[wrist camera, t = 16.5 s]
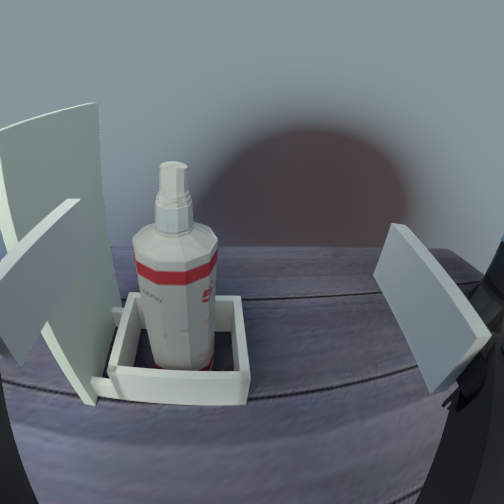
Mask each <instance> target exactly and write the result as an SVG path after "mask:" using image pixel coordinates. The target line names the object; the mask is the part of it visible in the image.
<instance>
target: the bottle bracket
mask: <svg viewBox="0 0 504 504" xmlns="http://www.w3.org/2000/svg"><path fill="white" fill-rule="evenodd" d="M99 140H100V139H99V102H94V103H87V104H83V105H78V106H74V107H70V108H66V109H62V110H58V111H55V112H51V113H47V114H44V115H40V116H37V117H34V118H31V119H28V120H25V121H22V122H19V123H16V124H13V125H10V126H8V127H5V128H3V129H0V228H1V232H2V235H3V239H4V242H5V245H6V248H7V252H8V253H9V252H10V251H11V250H12V249H13V248H14V247H15V246H16V245H17V244H18V243H19V242H20V241H21V240H22V239H23V238H24V237H25V236H26V235H27V234H28V233H29V232H30V231H31V230H32V229H33V228H34V227H35V226H36V225H38V224H39V223H40V222H41V221H42V220H43V219H44V218H45V217H46V216H48V215H49V214H50V213H51V212H52V211H53V210H55V209H56V208H57V207H58V206H59V205H60V204H62V203H63V202H64V201H65V200H67V199H82V206H83V213H84V219H85V224H86V230H87V235H88V240H89V245H90V250H91V255H90V257H89V258H88V260H87V261H86V262H85V264H84V265H83V267H82V268H81V269H80V271H79V272H78V274H77V275H76V277H75V278H74V280H73V281H72V282H71V284H70V285H69V287H68V288H67V290H66V292H65V293H64V295H63V296H62V298H61V299H60V301H59V302H58V304H57V306H56V307H55V309H54V310H53V312H52V314H51V315H50V317H49V319H48V320H47V322H46V324H45V325H44V327H43V329H42V330H41V333H42V335H43V337H44V339H45V341H46V343H47V344H48V346H49V348H50V350H51V352H52V353H53V355H54V357H55V359H56V360H57V362H58V364H59V365H60V367H61V369H62V370H63V372H64V374H65V375H66V377H67V378H68V380H69V381H70V383H71V385H72V386H73V388H74V389H75V391H76V392H77V393H78V395H79V396H80V398H81V399H82V401H83V402H84V403H85V404H88V405H93V406H96V402H97V397H98V396H102V397H109V398H116V399H123V400H132V401H141V402H151V403H164V404H181V405H246V401H247V396H248V391H249V386H250V381H251V375H250V368H249V360H248V352H247V344H246V336H245V328H244V320H243V312H242V303H241V296H217V295H216V296H215V329H214V332H231V340H232V352H233V364H234V371H183V370H164V369H149V368H137V367H134V362H135V357H136V352H137V347H138V342H139V337H140V332H141V328H142V329H147V327H146V322H145V317H144V312H143V306H142V301H141V295H140V293H137V292H129V295H128V298H127V301H126V304H125V307H124V308H122V303H121V298H120V294H119V289H118V285H117V280H116V275H115V270H114V265H113V260H112V254H111V248H110V242H109V236H108V229H107V222H106V214H105V206H104V197H103V187H102V176H101V161H100V141H99ZM116 326H117V327H118V331H117V334H116V338H115V341H114V345H113V349H112V353H111V356H110V360H109V364H108V368H107V374H108V376H109V378H110V379H108V378H102V376H103V372H104V368H105V364H106V360H107V356H108V352H109V349H110V345H111V341H112V338H113V334H114V331H115V328H116Z"/></svg>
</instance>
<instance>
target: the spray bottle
mask: <svg viewBox="0 0 504 504" xmlns="http://www.w3.org/2000/svg"><path fill="white" fill-rule="evenodd" d="M159 167H160V169H159V170H160V190H159V191H158V195H157V196H156V201H155V223H153V224H150V225H147V226H144V227H143V228H142V229H141V230H140V231H139V232H138V233H137V234H136V235H135V236H134V237H133V238H132V240H133V248H134V256H135V263H136V270H137V277H138V283H139V289H140V295H141V301H142V306H143V312H144V317H145V322H146V327H147V332H148V336H149V341H150V345H151V350H152V354H153V358H154V362H155V365H156V369H164V370H183V371H211V369H212V366H213V363H214V329H215V296H216V271H217V249H218V239H217V237H216V236H215V234H214V233H213V231H212V230H211V229H210V227H208V226H205V225H202V224H200V223H197V222H194V221H193V209H192V201H191V196H190V194H189V191H188V189H187V180H188V167H187V166H186V165H185V164H183V163H181V162H174V161H169V162H163V163H162V164H161V165H160V166H159Z"/></svg>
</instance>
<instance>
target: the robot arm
mask: <svg viewBox="0 0 504 504" xmlns="http://www.w3.org/2000/svg"><path fill="white" fill-rule="evenodd" d="M90 255H91V250H90V245H89V240H88V235H87V230H86V224H85V219H84V213H83V206H82V199H67V200H65V201H64V202H63V203H62V204H60V205H59V206H58V207H57V208H56V209H55V210H53V211H52V212H51V213H50V214H49V215H48V216H46V217H45V218H44V219H43V220H42V221H41V222H40V223H39V224H38V225H36V226H35V227H34V228H33V229H32V230H31V231H30V232H29V233H28V234H27V235H26V236H25V237H24V238H23V239H22V240H21V241H20V242H19V243H18V244H17V245H16V246H15V247H14V248H13V249H12V250H11V251H10V252H9V253H8V254H7V255H6V256H5V257H4V258H3V259H2V260H1V261H0V353H1V355H2V356H3V358H4V359H5V361H6V362H8V363H10V364H13V365H15V366H18V367H20V368H22V366H23V364H24V362H25V360H26V358H27V356H28V354H29V352H30V350H31V348H32V347H33V345H34V343H35V341H36V339H37V338H38V336H39V334H40V332H41V330H42V329H43V327H44V325H45V324H46V322H47V320H48V319H49V317H50V315H51V314H52V312H53V310H54V309H55V307H56V306H57V304H58V302H59V301H60V299H61V298H62V296H63V295H64V293H65V292H66V290H67V288H68V287H69V285H70V284H71V282H72V281H73V280H74V278H75V277H76V275H77V274H78V272H79V271H80V269H81V268H82V267H83V265H84V264H85V262H86V261H87V260H88V258H89V257H90ZM373 276H374V278H375V280H376V282H377V283H378V285H379V287H380V289H381V291H382V293H383V295H384V296H385V298H386V300H387V302H388V304H389V306H390V308H391V310H392V312H393V314H394V316H395V318H396V320H397V322H398V324H399V326H400V328H401V330H402V332H403V334H404V336H405V338H406V340H407V342H408V345H409V347H410V349H411V351H412V353H413V355H414V358H415V360H416V362H417V364H418V367H419V369H420V371H421V373H422V376H423V378H424V381H425V383H426V385H427V388H428V390H429V393H430V395H432V394H436V393H440V392H444V391H446V390H447V389H448V388H449V387H450V386H451V385H452V384H453V383H454V382H455V381H457V383H458V385H459V387H458V388H457V389H456V390H455V391H454V392H453V393H452V394H451V395H450V396H449V397H448V398H447V399H446V400H445V401H444V402H443V404H442V407H444V406H445V405H447V404H448V403H449V402H450V401H452V402H451V405H450V406H449V407H448V408H447V409H448V410H449V414H448V417H447V421H446V424H445V428H444V431H443V434H442V437H441V441H440V444H439V447H438V449H437V452H436V455H435V458H434V461H433V463H432V466H431V468H430V471H429V473H428V476H427V478H426V481H425V483H424V485H423V487H422V490H421V492H420V494H419V496H418V498H417V500H416V503H415V504H504V235H503V236H502V237H501V243H500V245H499V247H498V249H497V251H496V253H495V255H494V258H493V260H492V262H491V264H490V266H489V268H488V270H487V272H486V274H485V275H484V277H483V279H482V280H481V281H480V282H479V283H478V284H477V285H476V286H475V287H474V288H473V289H471V290H470V291H469V292H468V293H467V294H466V295H465V294H464V293H463V292H462V291H461V290H460V289H459V288H458V286H457V285H456V284H455V282H454V281H453V280H452V279H451V277H450V276H449V275H448V274H447V272H446V271H445V270H444V269H443V267H442V266H441V265H440V264H439V263H438V261H437V260H436V259H435V258H434V257H433V255H432V254H431V253H430V252H429V251H428V249H427V248H426V247H425V246H424V245H423V244H422V243H421V242H420V240H419V239H418V238H417V237H416V236H415V235H414V234H413V233H412V232H411V230H410V229H409V228H408V227H407V226H406V225H402V224H394V223H392V224H391V227H390V230H389V233H388V236H387V239H386V242H385V244H384V247H383V250H382V253H381V255H380V258H379V261H378V263H377V266H376V269H375V271H374V274H373ZM0 504H39V503H38V501H37V499H36V497H35V494H34V492H33V490H32V487H31V485H30V483H29V480H28V478H27V475H26V472H25V470H24V467H23V464H22V461H21V459H20V456H19V453H18V449H17V446H16V443H15V440H14V436H13V432H12V429H11V425H10V421H9V417H8V412H7V408H6V403H5V398H4V393H3V387H2V381H1V374H0Z"/></svg>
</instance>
